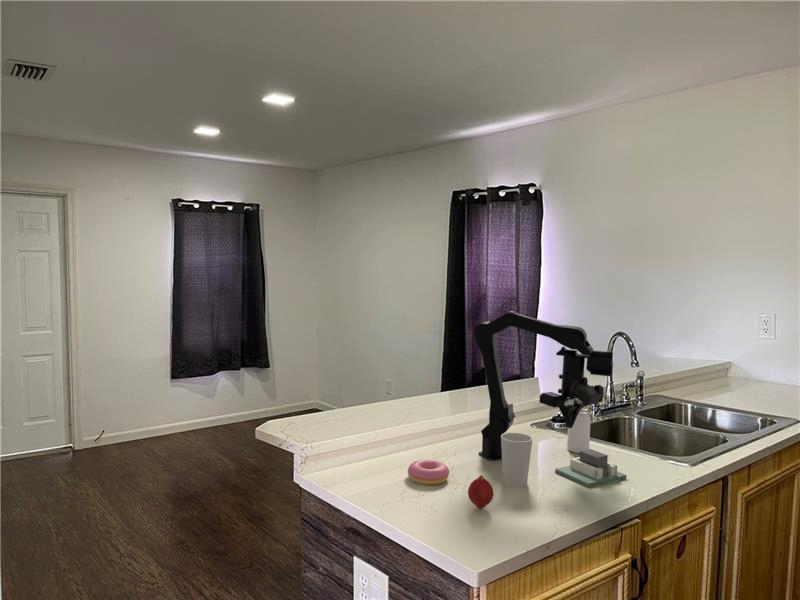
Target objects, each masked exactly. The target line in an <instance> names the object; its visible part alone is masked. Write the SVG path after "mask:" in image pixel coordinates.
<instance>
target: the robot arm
mask: <svg viewBox="0 0 800 600" xmlns="http://www.w3.org/2000/svg"><path fill="white" fill-rule="evenodd" d="M509 327H513V328H516V329H520V330H524V331H526V332H531V333H534V334H537V335H540V336H543V337H546V338H549V339H551V340H554V341H555V342H556V343H558V344H559V345H562V347H561V348H560V350H558V351H556V352H555V354H556V356H560V357H561V356H563V359H562V373H561V374H559V375H558V379H561V388H558V390H557V393H556V392H553V391H548V392H541V394H540V395H539V404H543V405H545V406H549V407H551V408H558V409H559V410H560V411H559V412H560V413H561V415H562V418H563V420H564V423H565V426H566V427H567V429H568V428H572V427H573V425H574V422H575V420H576V418H577V415H578V413H579V411H580V410H583V409H584V408H585V407H588V406H591V405H595V406H596V405H597V404H598V403H602V402H603V401H604V400H603V398H604V394H605V388H604V386H602V385H601V384H595V385H589V384H588V377H585V364H586V371H588V373H590V375H592V376H602V377H613V372H614V358H613V357H614V356H613V355H614V351H612V350H611V351H610V350H607V351H604V350H594V348H593V347H592V345H591V344H590V342H589V341H588V334H587V332H586V330H585V329H583V328H582V327H580V326H575V325H567V324H566V325H565V324H564V325H563V324H554V323H552V322H548V321H545V320H542V319H537V318H535V317H531V316H529V315H528V316H527V315H525V314H521V313H518V312H516V311H514V310H513V311H512V310H510V311H508V312H506V313H504V314H503V315H502V316H499V317H497V318H496V319H493V320H492V321H485V322H482V323H479V324H477V325H476V326H475V327H474V329H473V337H474V340H475V343H476V346H477V348H478V350H479V352H480V354H481V355H482V356H481V357H482V361H483V366H484V374H485V378H486V384H487V389H488V396H489V400H490V401H489V404H490V405H489V413H488V423H487V424H486V425H485V426H484V427H483V428H482V429H481V432H480V433H481V436H482V439H481V441H482V444H481V445H482V446H481V451H478V455H480V456H482V457H484V458H486V459H488V460H491V461H495V460H500V459H501V460H502V446H501V435H502V434H505V433H507V432H508V430H509V429H510V428H511V427H512V426H513V424H514V419H515V418H516V415H515V413H514V403H511V404H509V403H508V401H507V400H506V396H505V391H504V390H505V389H504V385H503V379H502V375H501V369H500V367H501V366H500V364H499V363H500V362H499V356H498V343H499V333H500V332H502V331H504V330H505V329H507V328H509ZM578 352H579V353H578ZM585 361H586V363H585Z"/></svg>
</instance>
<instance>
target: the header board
mask: <svg viewBox="0 0 800 600" xmlns="http://www.w3.org/2000/svg"><path fill="white" fill-rule="evenodd" d="M554 469H555V470H554V472H555V473H556V474H559V475H560V476H563V477H565V478H566V479H567V478H568V480H571V481H574V482H576V483H578V484H580V485H583V486H585V487H587V488H592V487H597V486H600V485H605V484H609V483H610V484H611V483H614V482H618V481H623V480H627V474H625V473H622V472H620V471H618V465H616V464H615V463H611V462H609V461H608V462H607V476H603V469H602V468H595V467H593V466H591V465H588V464H586V463H583V462H581V461H580V456H578V457H573V458H570V461H569V465H567V466H562V467H557V468H554ZM602 476H603V477H602Z"/></svg>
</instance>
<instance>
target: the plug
mask: <svg viewBox="0 0 800 600" xmlns="http://www.w3.org/2000/svg"><path fill="white" fill-rule="evenodd" d="M579 457H580V461H581V462H583V463H586V464H588V465H591V466H593V467H595V468H602V469H603V476H607V462H609V461H608V459H609V458H608V457H609V456H608V454H605V453H602V452H600V451H598V450H595V449H592V448H589V449H588V450H582V451H580V453H579ZM603 476H602V477H603Z"/></svg>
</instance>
